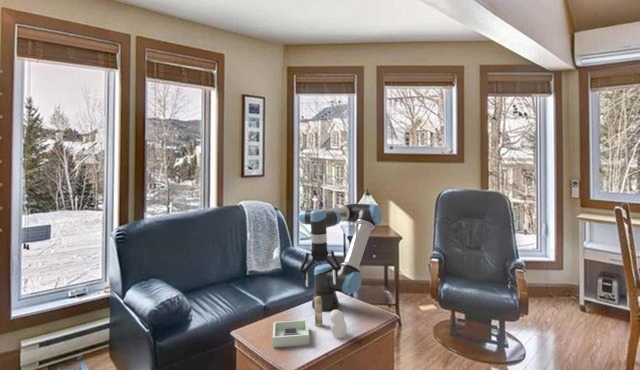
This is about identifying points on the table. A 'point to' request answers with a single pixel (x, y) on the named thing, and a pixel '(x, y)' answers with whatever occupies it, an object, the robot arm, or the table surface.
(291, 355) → the table surface
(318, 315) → the beige wooden dowel
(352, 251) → the robot arm
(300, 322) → the green square socket tray
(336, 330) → the figurine
